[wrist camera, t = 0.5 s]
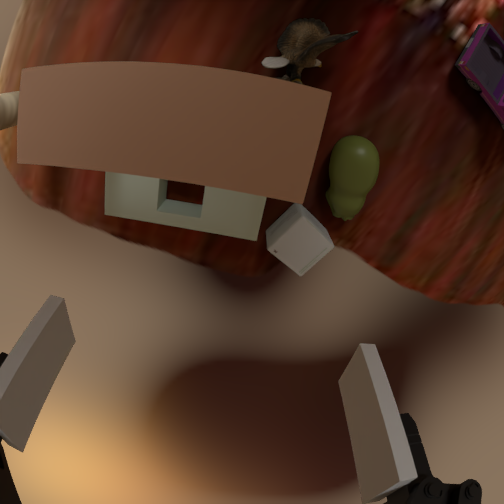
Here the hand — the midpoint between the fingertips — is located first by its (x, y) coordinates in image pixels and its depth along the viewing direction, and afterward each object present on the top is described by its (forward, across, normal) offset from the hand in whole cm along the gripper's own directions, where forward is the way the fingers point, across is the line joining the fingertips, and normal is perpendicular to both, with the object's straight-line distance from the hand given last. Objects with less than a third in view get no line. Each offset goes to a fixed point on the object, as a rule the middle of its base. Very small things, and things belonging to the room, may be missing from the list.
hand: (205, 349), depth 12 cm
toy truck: (+26, +32, +22) cm, 47 cm away
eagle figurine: (+26, +5, +16) cm, 31 cm away
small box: (+26, +8, -5) cm, 28 cm away
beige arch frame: (+22, -5, +8) cm, 24 cm away
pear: (+26, +12, +3) cm, 29 cm away
